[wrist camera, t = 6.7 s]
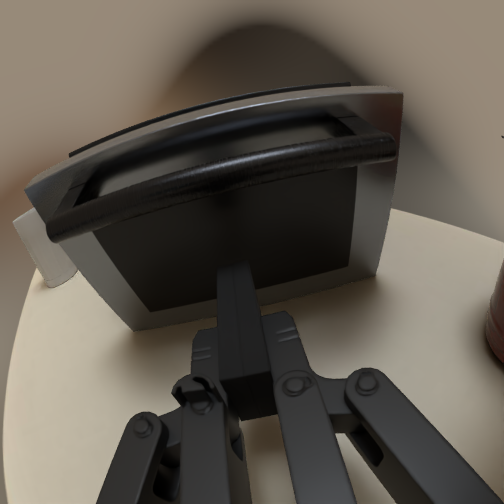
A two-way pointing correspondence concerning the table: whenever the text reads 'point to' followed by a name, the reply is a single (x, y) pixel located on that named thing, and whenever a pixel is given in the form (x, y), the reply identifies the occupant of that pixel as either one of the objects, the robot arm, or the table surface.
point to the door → (229, 201)
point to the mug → (497, 318)
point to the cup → (44, 249)
